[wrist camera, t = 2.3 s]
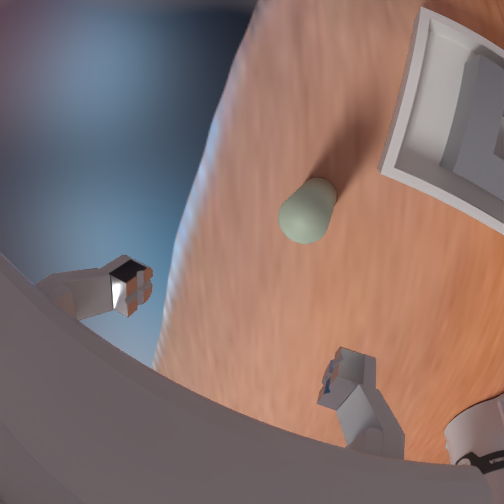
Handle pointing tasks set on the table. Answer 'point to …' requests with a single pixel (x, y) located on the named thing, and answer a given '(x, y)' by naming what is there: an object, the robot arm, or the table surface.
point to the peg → (308, 211)
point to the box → (450, 119)
